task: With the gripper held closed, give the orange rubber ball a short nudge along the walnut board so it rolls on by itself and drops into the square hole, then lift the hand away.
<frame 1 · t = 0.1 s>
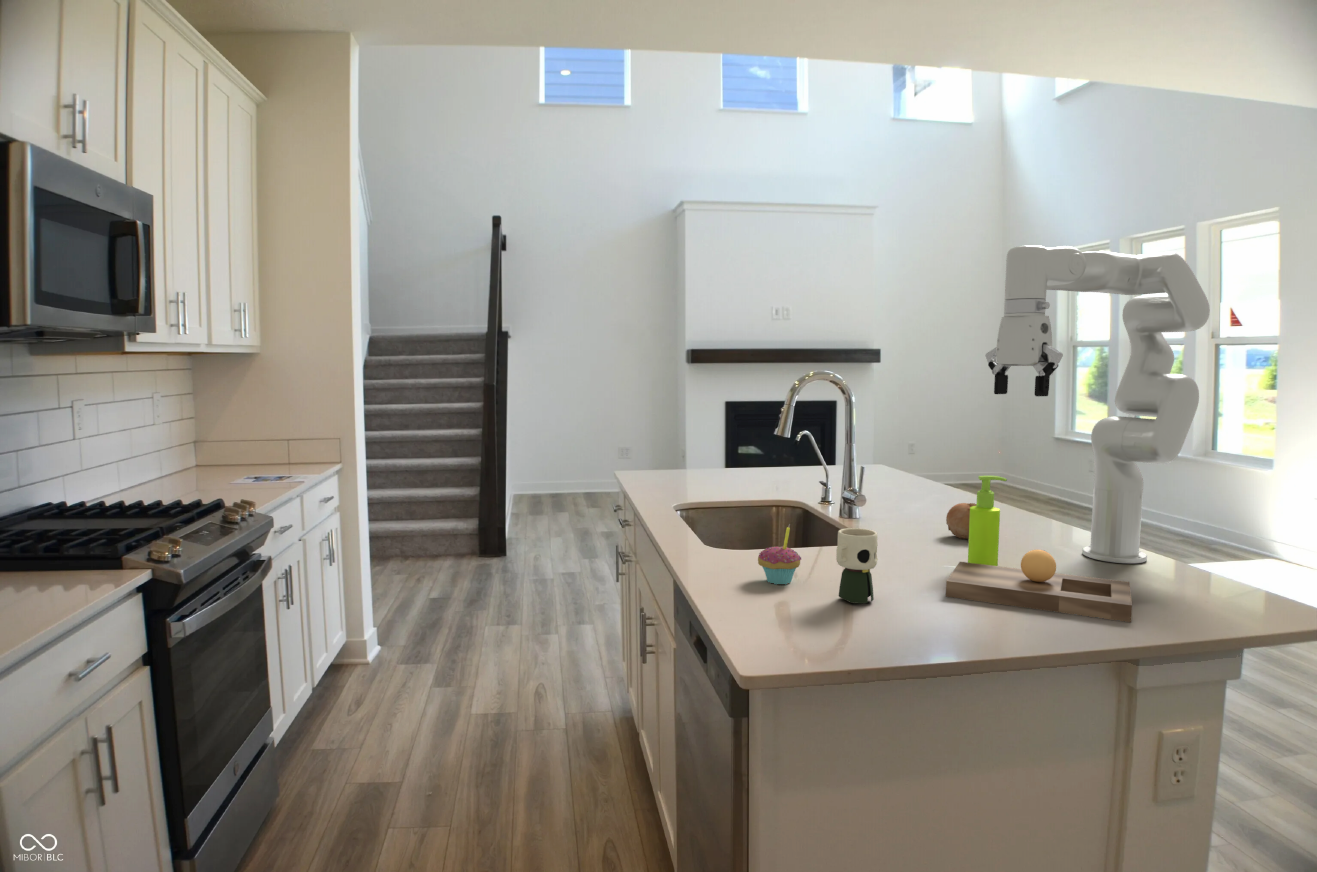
hand: (1020, 395, 159), 37 cm above the worktop, tool pointing down, fingers open, 9 cm apart
cupcake: (778, 582, 158), on the worktop
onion: (965, 538, 197), on the worktop
character mug: (855, 602, 146), on the worktop
board: (1036, 596, 148), on the worktop
ball: (1038, 565, 148), point 6 cm above the worktop, touching board
soap dispenser: (984, 570, 167), on the worktop
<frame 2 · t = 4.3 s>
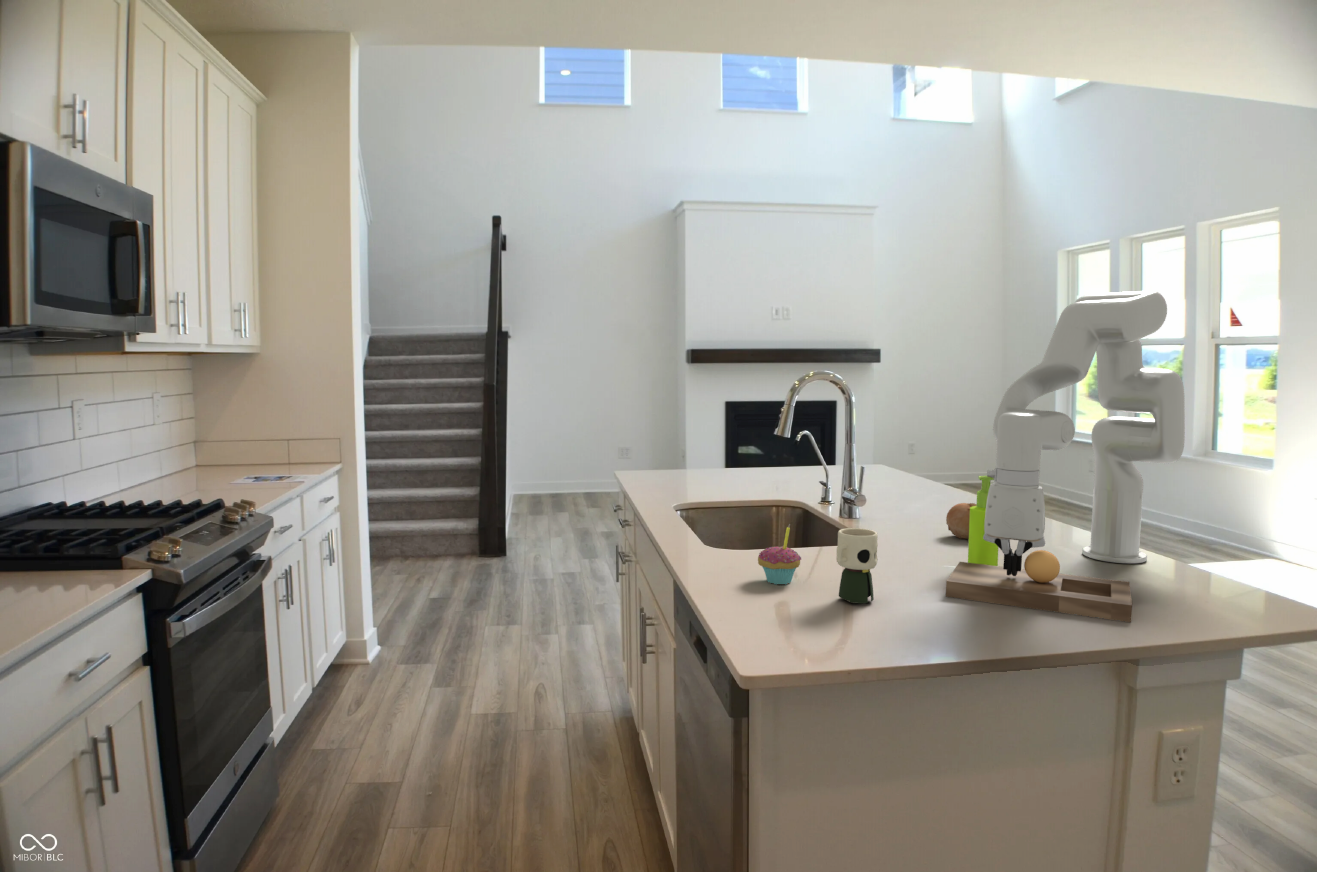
hand: (1012, 573, 150), 4 cm above the worktop, tool pointing down, fingers closed
ball: (1041, 566, 147), point 6 cm above the worktop, tilted 9°, touching board, gripper
everything else where it was.
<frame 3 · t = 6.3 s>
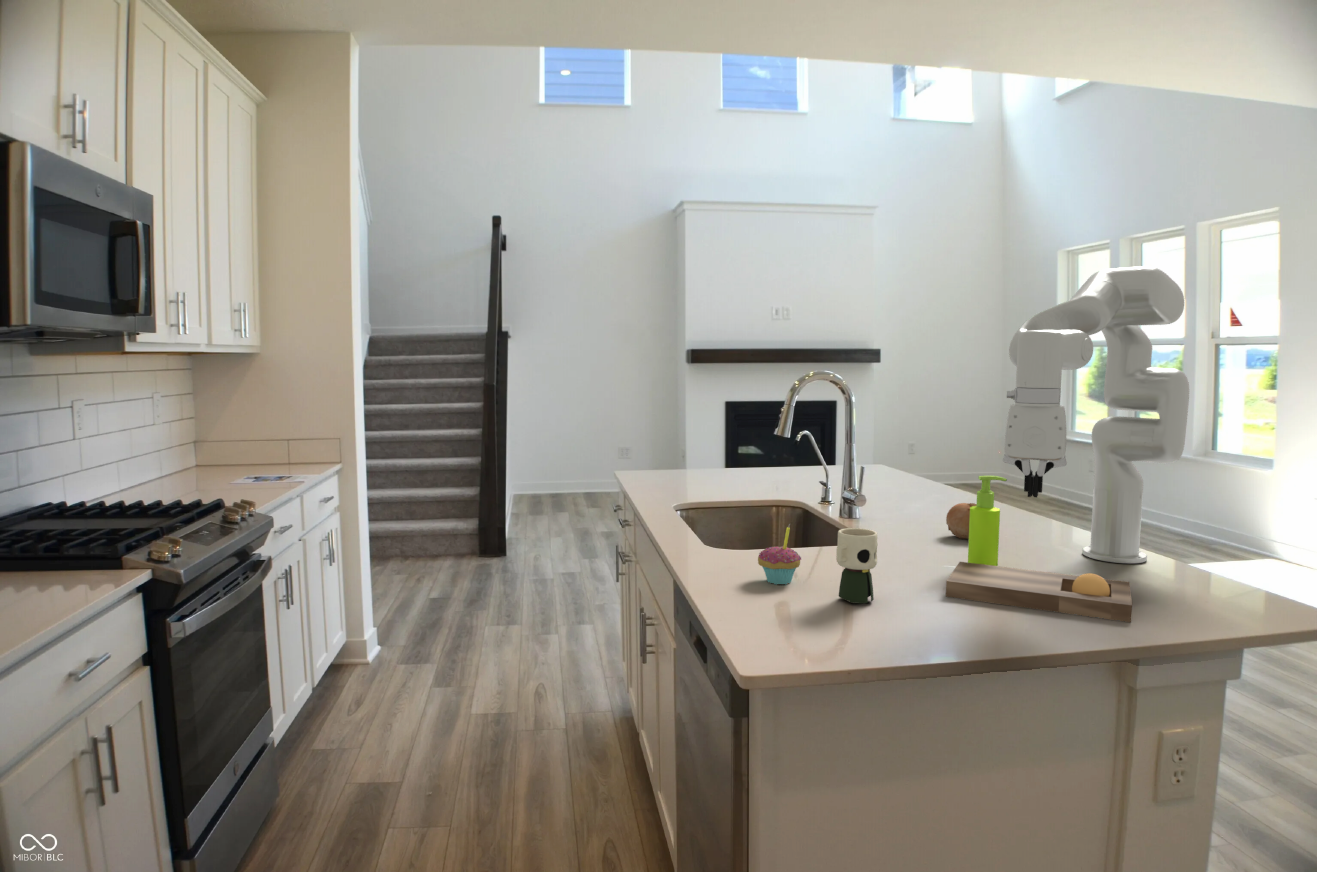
hand: (1032, 495, 147), 19 cm above the worktop, tool pointing down, fingers closed
ball: (1090, 590, 142), point 3 cm above the worktop, tilted 78°
everything else where it was.
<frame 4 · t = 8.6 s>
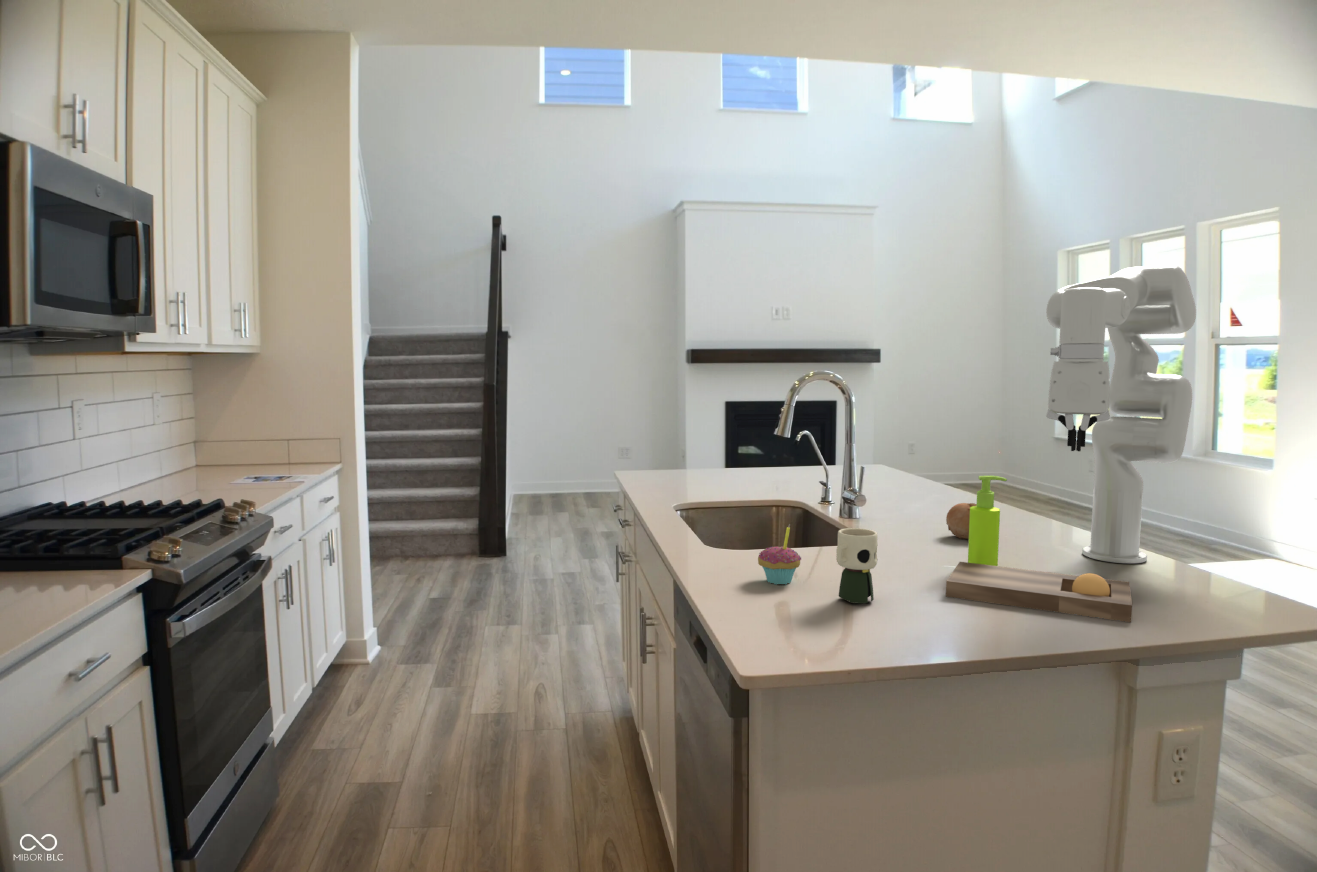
hand: (1075, 450, 151), 27 cm above the worktop, tool pointing down, fingers closed
nothing on the worktop moved.
at the end: ball inside the target area on the board (1.6 cm from its centre), point 3.0 cm above the board's base; ball point 3.0 cm above the worktop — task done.
